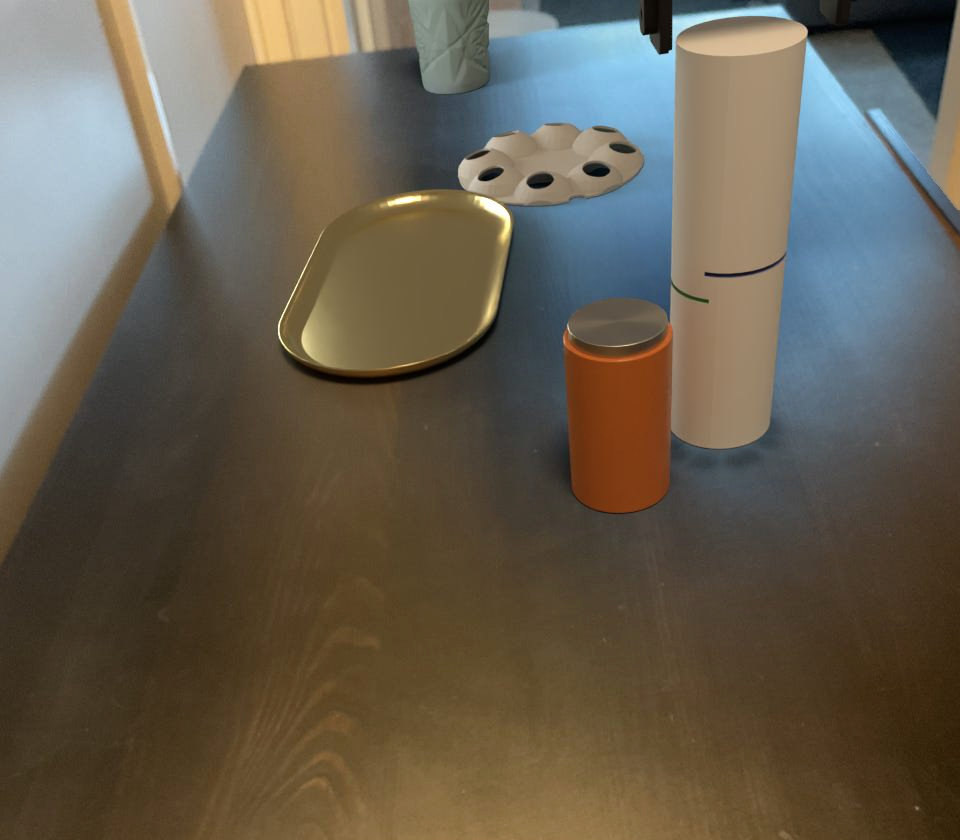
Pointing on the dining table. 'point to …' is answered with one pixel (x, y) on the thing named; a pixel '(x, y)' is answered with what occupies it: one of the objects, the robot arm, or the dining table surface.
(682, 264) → the cylindrical container
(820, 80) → the dining table surface
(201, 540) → the dining table surface
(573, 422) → the orange can
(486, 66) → the drinking glass
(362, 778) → the dining table surface
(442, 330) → the serving platter
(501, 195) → the round palette
